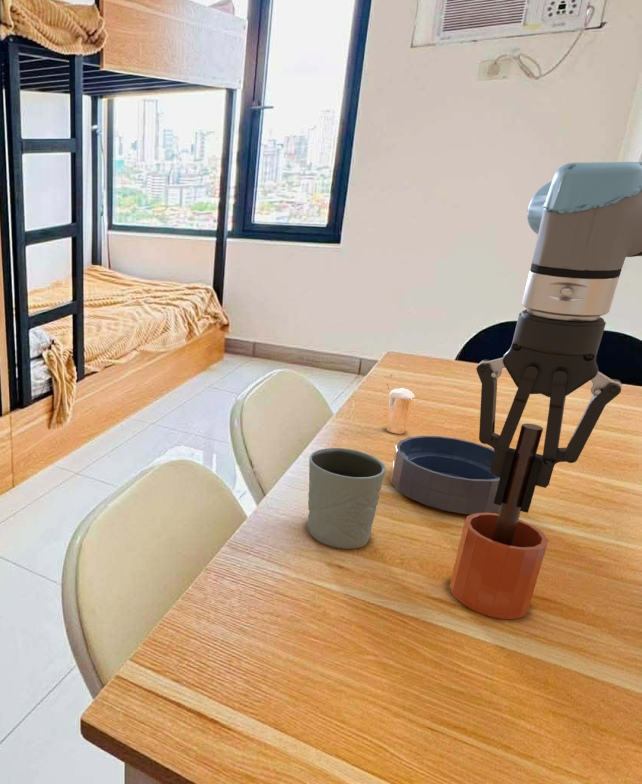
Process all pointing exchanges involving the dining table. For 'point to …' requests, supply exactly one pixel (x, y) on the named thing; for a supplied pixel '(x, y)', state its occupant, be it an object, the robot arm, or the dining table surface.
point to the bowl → (446, 474)
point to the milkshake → (399, 409)
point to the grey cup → (343, 496)
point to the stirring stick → (517, 483)
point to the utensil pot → (497, 567)
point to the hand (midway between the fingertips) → (512, 503)
